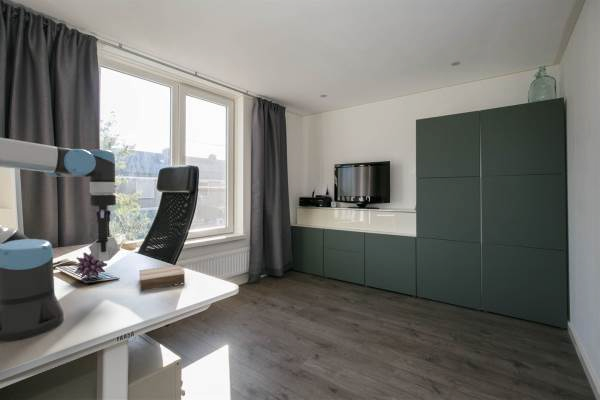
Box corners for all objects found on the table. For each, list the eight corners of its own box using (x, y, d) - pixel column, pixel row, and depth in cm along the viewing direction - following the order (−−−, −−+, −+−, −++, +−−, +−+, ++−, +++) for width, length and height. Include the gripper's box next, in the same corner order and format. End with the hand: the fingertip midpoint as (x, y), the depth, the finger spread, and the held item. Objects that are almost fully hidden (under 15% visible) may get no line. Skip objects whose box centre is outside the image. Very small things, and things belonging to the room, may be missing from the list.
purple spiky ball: (108, 282, 125) (73, 283, 116) (100, 275, 133) (67, 275, 124) (114, 254, 125) (79, 253, 117) (106, 249, 134) (73, 248, 125)
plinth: (184, 283, 116) (184, 273, 116) (140, 291, 109) (140, 280, 109) (179, 274, 129) (178, 265, 129) (139, 279, 122) (139, 270, 122)
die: (96, 265, 100) (116, 241, 103) (78, 251, 102) (98, 228, 104) (111, 267, 108) (129, 245, 110) (94, 255, 109) (112, 233, 112)
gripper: (114, 194, 98) (116, 263, 99) (116, 193, 116) (118, 252, 117) (86, 194, 94) (88, 266, 95) (93, 194, 112) (95, 254, 113)
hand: (104, 258), depth 106 cm, fingers closed on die, 8 cm apart
